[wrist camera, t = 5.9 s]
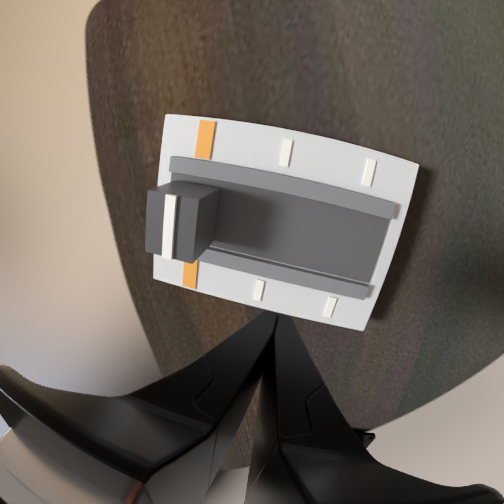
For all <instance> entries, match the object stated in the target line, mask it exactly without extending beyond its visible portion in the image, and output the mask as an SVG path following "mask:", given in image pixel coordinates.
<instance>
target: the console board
mask: <svg viewBox="0 0 504 504" xmlns="http://www.w3.org/2000/svg"><path fill="white" fill-rule="evenodd" d="M418 167H419V164H416V163H413V162H410V161H407V160H404V159H401V158H398V157H395V156H392V155H389V154H385V153H382V152H379V151H375V150H372V149H368V148H365V147H361V146H358V145H354V144H350V143H346V142H342V141H338V140H334V139H330V138H326V137H322V136H317V135H313V134H308V133H303V132H298V131H293V130H288V129H283V128H277V127H272V126H266V125H260V124H254V123H247V122H240V121H233V120H225V119H216V118H207V117H197V116H185V115H172V114H166V116H165V123H164V130H163V138H162V147H161V156H160V165H159V176H158V186H161V185H164V184H166V183H169V182H172V181H175V180H178V181H183V182H189V183H195V184H201V185H206V186H212V187H217V188H220V193H219V200H218V208H217V215H216V223H215V231H214V239H213V243H212V244H211V245H210V246H209V247H208V248H207V249H206V250H205V251H204V253H203V254H202V255H201V256H200V257H199V258H198V259H197V260H196V261H195V262H194V263H193V264H190V263H187V262H183V261H179V260H175V259H172V260H168V259H165V258H162V256H160V255H157V254H154V279H157V280H160V281H164V282H167V283H170V284H174V285H177V286H181V287H184V288H188V289H191V290H195V291H198V292H202V293H205V294H209V295H213V296H216V297H220V298H224V299H228V300H231V301H235V302H239V303H243V304H247V305H251V306H255V307H259V308H263V309H267V310H271V311H275V312H279V313H283V314H287V315H292V316H296V317H300V318H305V319H309V320H313V321H318V322H323V323H327V324H332V325H336V326H341V327H346V328H351V329H356V330H361V331H363V330H364V328H365V326H366V324H367V321H368V319H369V317H370V314H371V312H372V310H373V307H374V305H375V302H376V300H377V297H378V295H379V292H380V290H381V287H382V285H383V282H384V279H385V277H386V274H387V271H388V268H389V266H390V263H391V260H392V257H393V254H394V251H395V248H396V245H397V242H398V239H399V236H400V233H401V230H402V227H403V223H404V220H405V217H406V213H407V210H408V206H409V203H410V199H411V195H412V192H413V188H414V184H415V180H416V176H417V172H418Z"/></svg>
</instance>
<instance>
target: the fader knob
mask: <svg viewBox="0 0 504 504" xmlns="http://www.w3.org/2000/svg"><path fill="white" fill-rule="evenodd" d="M219 193H220V188H217V187H212V186H206V185H201V184H195V183H189V182H183V181H178V180H175V181H172V182H169V183H166V184H164V185H161V186H158V187H155V188H152V189H150V190H148V196H147V214H146V242H145V252H149V253H153V254H157V255H160V256H162V258H165V259H168V260H172V259H175V260H179V261H183V262H187V263H190V264H193V263H194V262H195V261H196V260H197V259H198V258H199V257H200V256H201V255H202V254H203V253H204V251H205V250H206V249H207V248H208V247H209V246H210V245H211V244H212V243H213V239H214V231H215V223H216V215H217V208H218V200H219Z"/></svg>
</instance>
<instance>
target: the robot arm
mask: <svg viewBox="0 0 504 504" xmlns="http://www.w3.org/2000/svg"><path fill="white" fill-rule="evenodd" d="M264 365H265V366H264ZM262 372H263V373H262ZM261 376H262V378H261ZM260 379H261V384H260V392H259V400H258V408H257V416H256V424H255V431H254V439H253V446H252V454H251V461H250V468H249V475H248V482H247V489H246V496H245V502H244V504H503V503H504V497H503V496H502V494H500V493H499V492H498V491H497V490H496V489H494V488H491V487H489V486H486V485H484V484H474V485H469V486H463V487H450V486H443V485H439V484H435V483H432V482H429V481H426V480H423V479H420V478H417V477H414V476H411V475H408V474H406V473H403V472H400V471H398V470H395V469H392V468H390V467H387V466H385V465H383V464H381V463H380V462H378V461H377V460H376V459H374V458H373V457H372V456H371V454H370V453H369V452H368V451H367V450H366V448H367V447H368V445H369V444H370V443H371V442H372V441H373V440H374V439H375V434H374V433H366V432H356V431H353V429H352V428H351V427H350V425H349V424H348V422H347V421H346V419H345V418H344V416H343V415H342V413H341V411H340V410H339V408H338V407H337V405H336V403H335V401H334V400H333V398H332V396H331V394H330V392H329V390H328V388H327V386H326V385H325V382H324V380H323V378H322V377H321V375H320V373H319V371H318V369H317V367H316V365H315V363H314V361H313V359H312V357H311V355H310V353H309V351H308V349H307V347H306V345H305V343H304V341H303V339H302V337H301V335H300V333H299V331H298V329H297V327H296V325H295V323H294V321H293V319H292V317H291V316H288V315H284V314H278V315H277V313H275V312H271V311H267V310H265V311H264V312H262V313H261V314H259V315H258V316H257V317H255V318H254V319H253V320H251V321H250V322H249V323H247V324H246V325H244V326H243V327H242V328H240V329H239V330H238V331H236V332H235V333H233V334H232V335H231V336H229V337H228V338H226V339H225V340H223V341H222V342H221V343H219V344H218V345H216V346H215V347H213V348H212V349H211V350H209V351H208V352H206V353H205V354H204V355H202V356H200V357H199V358H197V359H196V360H194V361H193V362H191V363H190V364H188V365H186V366H185V367H183V368H182V369H180V370H178V371H176V372H174V373H172V374H170V375H168V376H166V377H164V378H162V379H160V380H158V381H156V382H153V383H151V384H149V385H147V386H145V387H143V388H140V389H138V390H136V391H134V392H131V393H129V394H126V395H122V396H116V397H106V396H98V395H89V394H83V393H76V392H69V391H64V390H58V389H53V388H49V387H45V386H41V385H39V384H36V383H34V382H31V381H29V380H28V379H26V378H24V377H23V376H22V375H20V374H19V373H18V372H17V371H15V370H14V369H12V368H11V367H9V366H5V365H0V414H1V416H2V417H3V419H4V420H5V421H6V423H7V424H8V426H9V427H10V428H9V429H8V430H7V432H6V433H5V434H4V435H3V436H2V438H1V439H0V504H201V502H202V500H203V498H204V496H205V494H206V493H207V490H208V489H209V487H210V485H211V483H212V481H213V479H214V477H215V475H216V473H217V471H218V469H219V467H220V465H221V463H222V461H223V459H224V457H225V455H226V453H227V451H228V449H229V447H230V445H231V443H232V441H233V438H234V436H235V434H236V432H237V430H238V428H239V426H240V424H241V421H242V419H243V417H244V415H245V413H246V411H247V408H248V406H249V404H250V402H251V400H252V397H253V395H254V393H255V391H256V388H257V386H258V384H259V381H260Z"/></svg>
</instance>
